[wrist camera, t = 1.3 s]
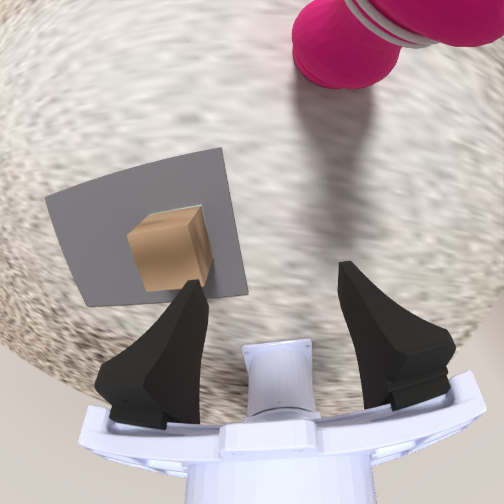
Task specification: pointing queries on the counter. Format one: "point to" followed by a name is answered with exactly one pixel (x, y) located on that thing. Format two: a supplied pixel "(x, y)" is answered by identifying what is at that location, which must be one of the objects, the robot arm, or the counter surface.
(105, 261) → the mat
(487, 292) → the counter surface
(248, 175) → the counter surface
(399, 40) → the pepper mill
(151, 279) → the cube
